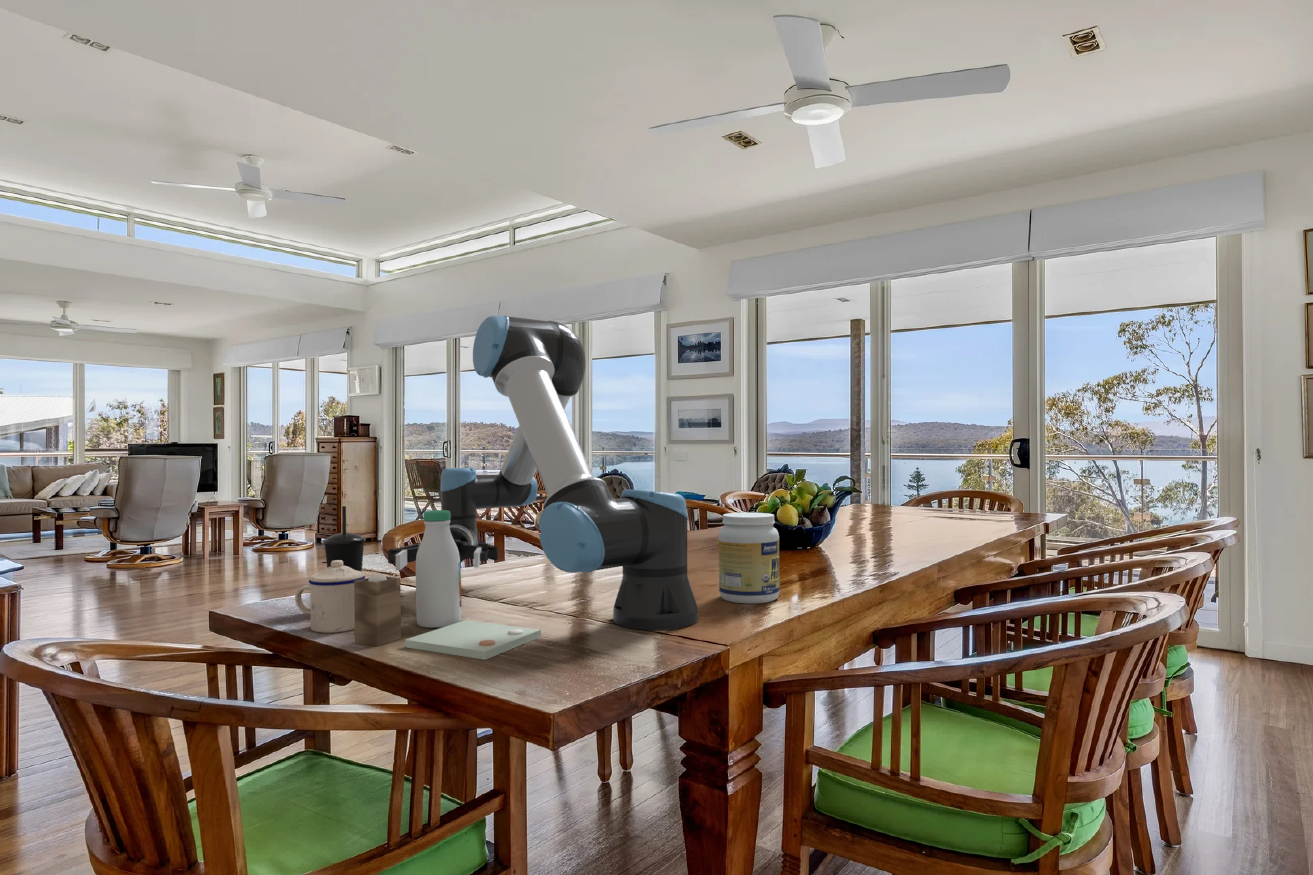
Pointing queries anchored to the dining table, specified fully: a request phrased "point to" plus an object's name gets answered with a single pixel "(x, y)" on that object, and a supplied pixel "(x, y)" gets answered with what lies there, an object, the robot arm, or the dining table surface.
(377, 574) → the cream ball
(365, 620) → the walnut tube
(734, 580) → the supplement tub
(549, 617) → the dining table surface
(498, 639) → the card
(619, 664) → the dining table surface
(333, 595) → the teacup with lid
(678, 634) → the dining table surface
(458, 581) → the milk bottle
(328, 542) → the drinking cup
